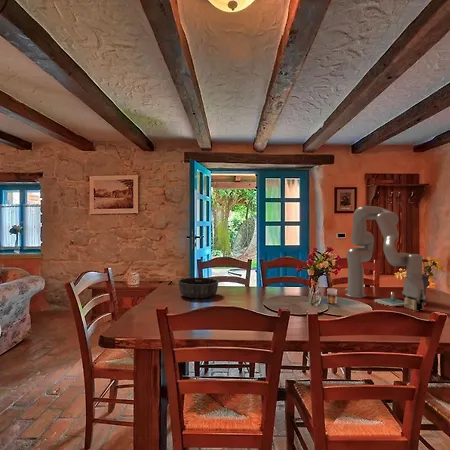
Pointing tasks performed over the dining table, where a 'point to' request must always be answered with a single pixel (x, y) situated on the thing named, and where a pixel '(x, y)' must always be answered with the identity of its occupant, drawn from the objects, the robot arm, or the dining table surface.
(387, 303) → the post board
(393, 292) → the steel post
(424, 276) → the moka pot
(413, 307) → the birch collar
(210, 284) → the bundt pan
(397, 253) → the robot arm
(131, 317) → the dining table surface
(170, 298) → the dining table surface
